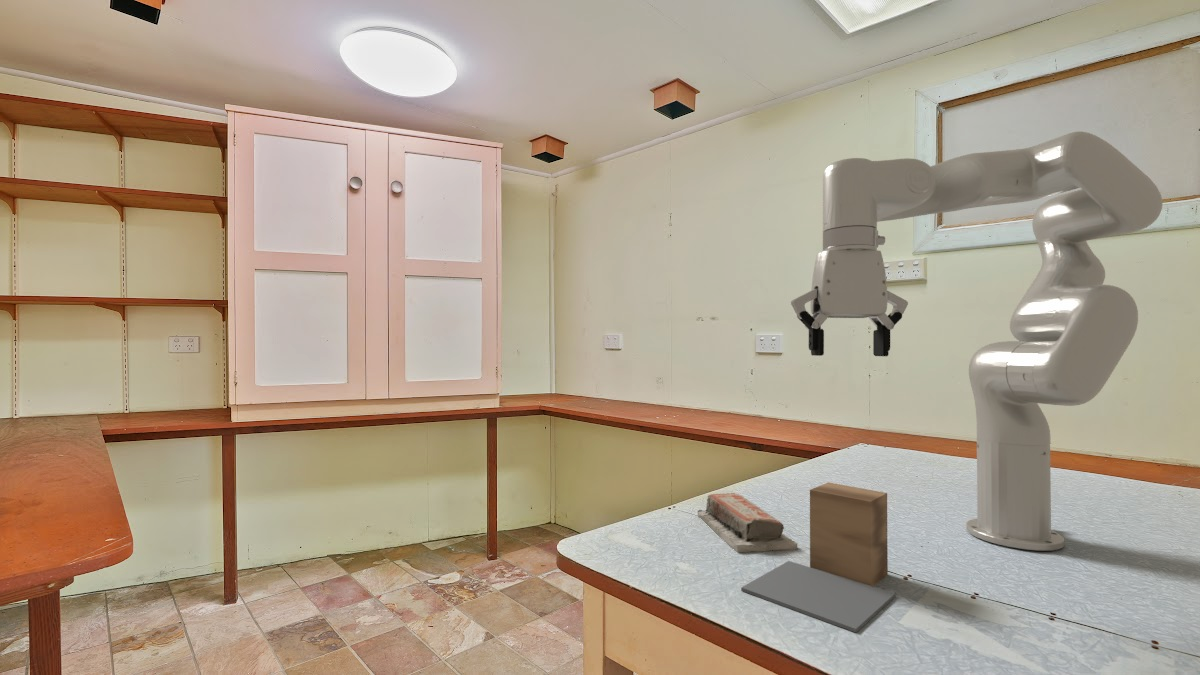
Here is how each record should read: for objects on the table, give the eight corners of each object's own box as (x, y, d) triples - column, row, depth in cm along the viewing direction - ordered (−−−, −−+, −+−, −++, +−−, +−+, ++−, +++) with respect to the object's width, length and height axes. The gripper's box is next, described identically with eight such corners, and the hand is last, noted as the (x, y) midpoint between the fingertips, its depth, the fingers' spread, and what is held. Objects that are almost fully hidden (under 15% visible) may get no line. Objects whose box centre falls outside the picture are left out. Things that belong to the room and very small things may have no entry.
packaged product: (695, 491, 99) (747, 489, 101) (695, 518, 99) (747, 516, 101) (736, 523, 82) (798, 520, 83) (736, 556, 82) (798, 552, 83)
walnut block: (829, 557, 80) (828, 482, 80) (887, 574, 74) (887, 493, 74) (810, 569, 76) (809, 489, 76) (870, 588, 70) (870, 501, 70)
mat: (788, 563, 78) (788, 560, 78) (895, 596, 67) (895, 593, 67) (741, 590, 69) (741, 587, 69) (855, 632, 59) (855, 628, 59)
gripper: (892, 248, 87) (892, 356, 87) (784, 247, 87) (783, 354, 87) (920, 239, 80) (920, 356, 79) (801, 237, 80) (801, 355, 79)
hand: (849, 355), depth 83 cm, fingers open, 9 cm apart
